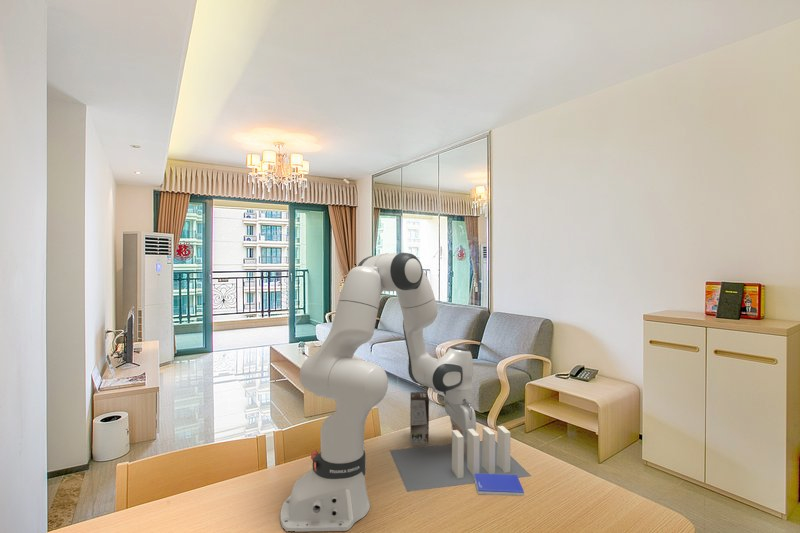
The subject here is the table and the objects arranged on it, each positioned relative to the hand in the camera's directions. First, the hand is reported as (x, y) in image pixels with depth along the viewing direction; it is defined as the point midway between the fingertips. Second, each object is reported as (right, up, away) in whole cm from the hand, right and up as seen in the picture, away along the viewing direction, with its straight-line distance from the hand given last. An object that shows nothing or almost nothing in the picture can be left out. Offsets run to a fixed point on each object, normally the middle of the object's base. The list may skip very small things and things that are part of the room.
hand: (459, 435), depth 136 cm
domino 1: (-3, -5, -15) cm, 16 cm away
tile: (0, -5, 0) cm, 5 cm away
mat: (-2, -5, -8) cm, 10 cm away
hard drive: (+8, -5, -22) cm, 24 cm away
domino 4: (+12, -5, -12) cm, 17 cm away
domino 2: (+2, -5, -14) cm, 15 cm away
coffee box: (-13, -5, +8) cm, 16 cm away
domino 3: (+7, -5, -13) cm, 15 cm away
